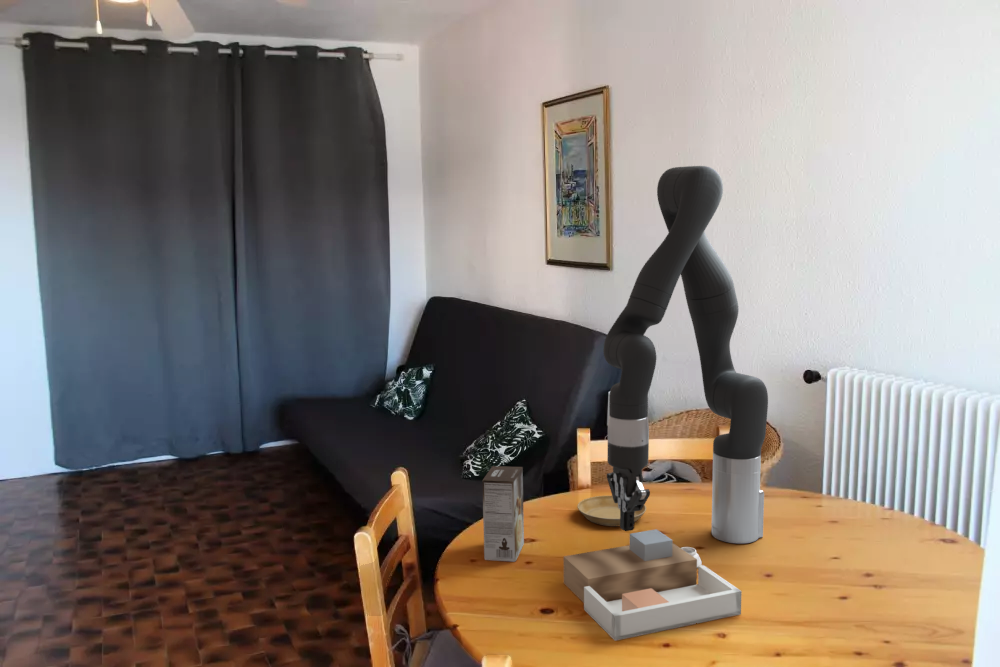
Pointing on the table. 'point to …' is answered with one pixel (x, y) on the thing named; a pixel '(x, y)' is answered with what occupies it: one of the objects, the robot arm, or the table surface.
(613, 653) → the table surface
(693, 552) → the white jar
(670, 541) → the blue grey flat block
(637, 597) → the tile terracotta
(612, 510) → the plant saucer
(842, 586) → the table surface
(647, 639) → the table surface
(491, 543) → the coffee box
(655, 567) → the brown wooden slab
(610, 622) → the box
